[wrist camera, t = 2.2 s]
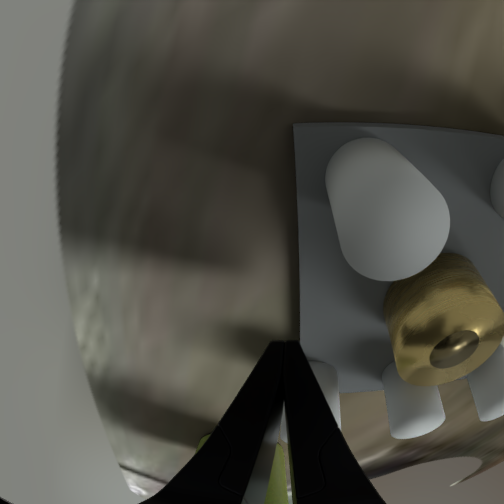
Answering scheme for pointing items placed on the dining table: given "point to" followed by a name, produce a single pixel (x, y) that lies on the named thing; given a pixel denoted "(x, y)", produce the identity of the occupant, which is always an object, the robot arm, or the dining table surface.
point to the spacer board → (361, 297)
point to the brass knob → (442, 321)
